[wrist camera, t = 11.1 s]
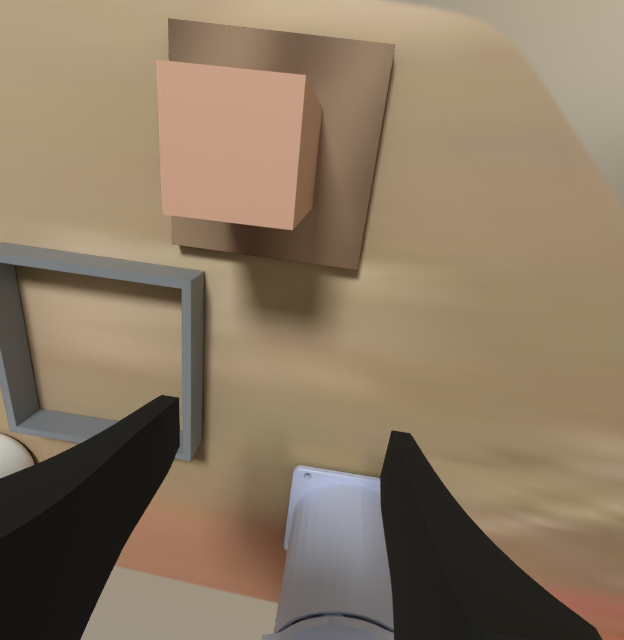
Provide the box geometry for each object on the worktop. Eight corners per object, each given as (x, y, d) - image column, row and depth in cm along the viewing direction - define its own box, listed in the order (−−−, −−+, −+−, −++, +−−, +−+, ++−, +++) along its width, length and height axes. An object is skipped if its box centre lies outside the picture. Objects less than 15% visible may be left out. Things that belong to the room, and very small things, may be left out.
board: (393, 49, 17) (395, 44, 17) (357, 266, 21) (357, 270, 21) (175, 24, 18) (168, 18, 17) (178, 241, 22) (172, 244, 21)
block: (322, 107, 18) (305, 74, 11) (312, 208, 20) (292, 230, 13) (226, 97, 18) (155, 59, 12) (224, 198, 20) (162, 214, 13)
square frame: (204, 271, 22) (190, 280, 20) (201, 440, 27) (190, 461, 25) (2, 242, 23) (-29, 249, 21) (33, 413, 27) (10, 431, 25)
